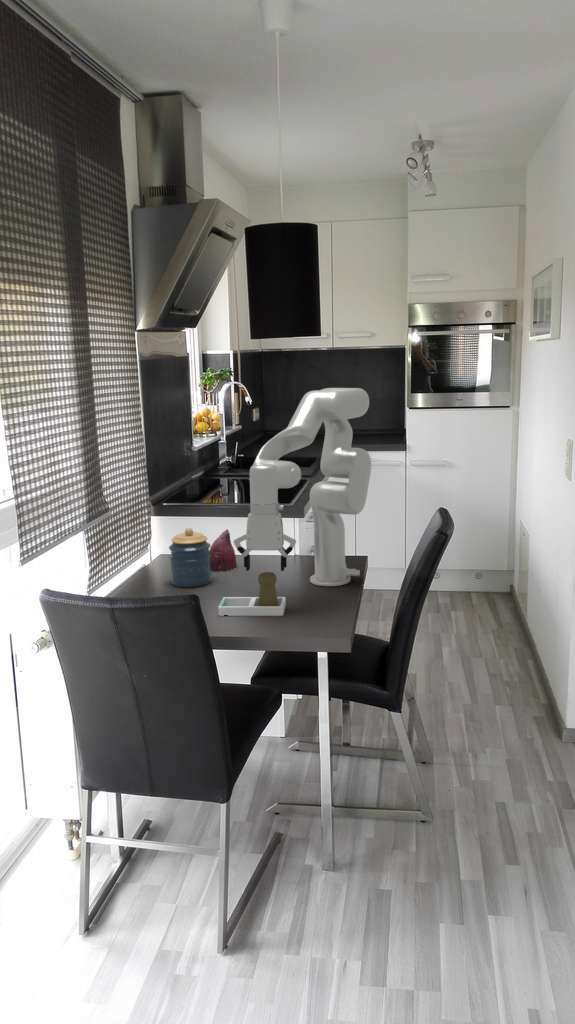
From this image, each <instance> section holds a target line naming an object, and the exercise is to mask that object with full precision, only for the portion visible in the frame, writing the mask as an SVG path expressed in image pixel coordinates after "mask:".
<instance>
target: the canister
mask: <svg viewBox="0 0 575 1024" xmlns="http://www.w3.org/2000/svg"><path fill="white" fill-rule="evenodd" d="M170 540H171V543H172V544H170V545H169V547H168V549H169V550H170V556H169V561H170V580H171V585H173V586H175V587H180V588H196V587H197V588H198V587H202V586H206V585H209V584H210V583H211V582H212V578H213V573H212V571H211V559H210V557H211V554H210V553H209V550H210V548H211V544H210V543H209V542H208V541H207V540H208V537H207V536H206V535H204V534H203V533H201V532H194V530H193V529H192V528H191V527H187V528H185V530H184V532H181V533H178V534H176V535H175V536H174V537H172V538H171V539H170Z"/></svg>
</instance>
